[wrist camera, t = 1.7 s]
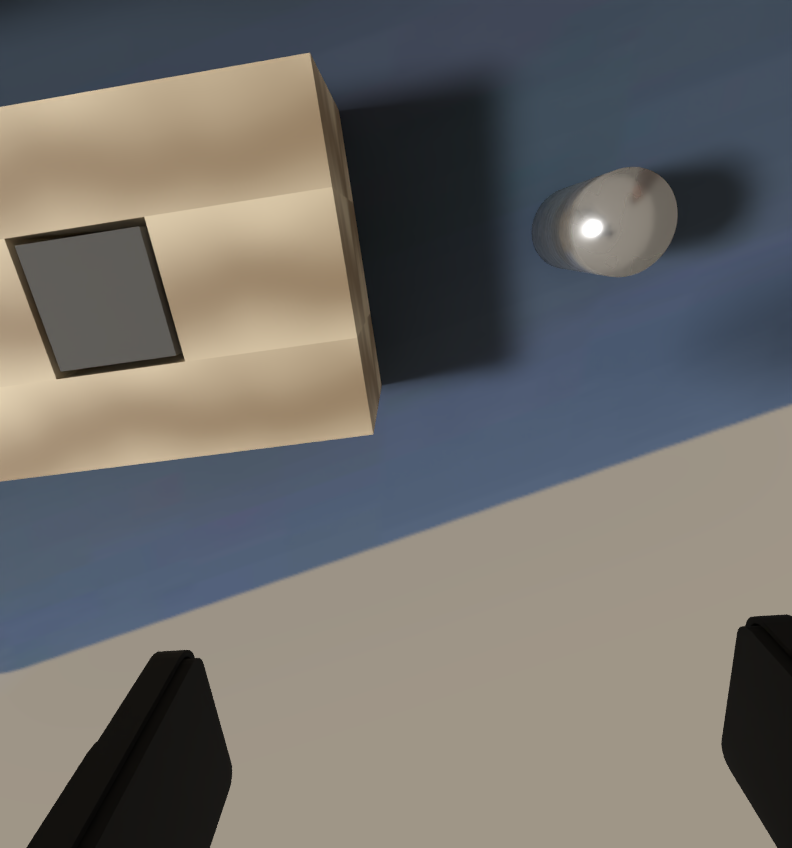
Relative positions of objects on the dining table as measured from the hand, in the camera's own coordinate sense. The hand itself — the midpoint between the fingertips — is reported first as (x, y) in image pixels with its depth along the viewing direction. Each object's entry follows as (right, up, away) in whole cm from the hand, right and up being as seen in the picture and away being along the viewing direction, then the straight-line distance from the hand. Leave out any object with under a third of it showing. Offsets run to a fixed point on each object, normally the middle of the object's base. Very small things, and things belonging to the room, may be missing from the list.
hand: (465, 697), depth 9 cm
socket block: (-13, +12, +19) cm, 26 cm away
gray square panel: (-13, +10, +12) cm, 20 cm away
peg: (+8, +15, +17) cm, 24 cm away
